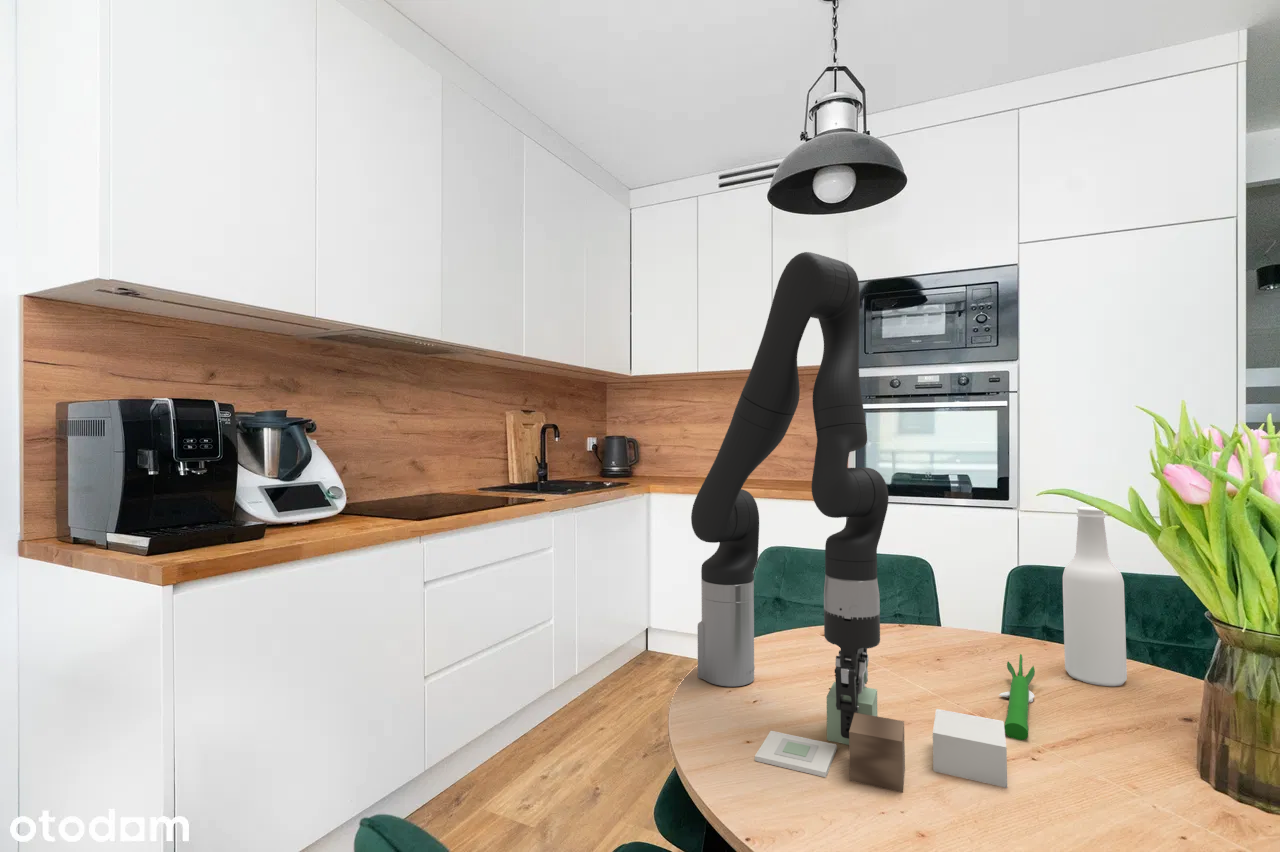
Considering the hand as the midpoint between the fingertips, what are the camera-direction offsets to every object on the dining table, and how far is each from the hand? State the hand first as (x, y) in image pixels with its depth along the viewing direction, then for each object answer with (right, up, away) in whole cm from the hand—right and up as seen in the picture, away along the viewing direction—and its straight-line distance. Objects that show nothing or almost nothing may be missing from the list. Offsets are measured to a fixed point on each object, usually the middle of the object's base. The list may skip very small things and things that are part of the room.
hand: (853, 727), depth 86 cm
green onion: (+30, -2, +12) cm, 33 cm away
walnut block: (-1, -1, -10) cm, 10 cm away
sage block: (0, -1, 0) cm, 1 cm away
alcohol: (+50, -2, +21) cm, 55 cm away
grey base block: (+12, -1, -8) cm, 15 cm away
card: (-9, -1, -5) cm, 11 cm away
